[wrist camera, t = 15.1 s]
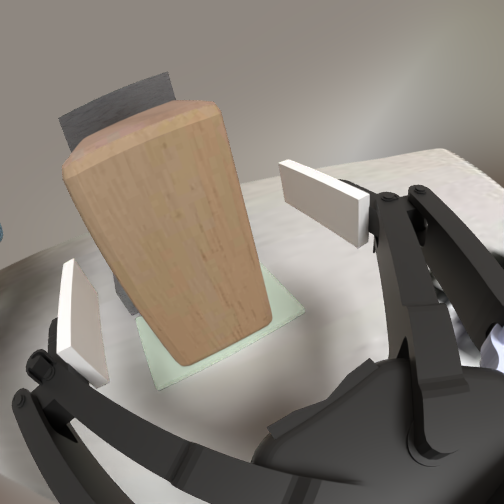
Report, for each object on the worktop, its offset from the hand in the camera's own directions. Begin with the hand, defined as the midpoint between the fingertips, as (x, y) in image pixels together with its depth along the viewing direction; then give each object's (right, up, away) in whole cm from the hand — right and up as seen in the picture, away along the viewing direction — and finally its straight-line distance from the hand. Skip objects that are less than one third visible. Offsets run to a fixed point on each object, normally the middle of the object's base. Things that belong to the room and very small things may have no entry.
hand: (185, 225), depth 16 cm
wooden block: (0, -8, +13) cm, 16 cm away
